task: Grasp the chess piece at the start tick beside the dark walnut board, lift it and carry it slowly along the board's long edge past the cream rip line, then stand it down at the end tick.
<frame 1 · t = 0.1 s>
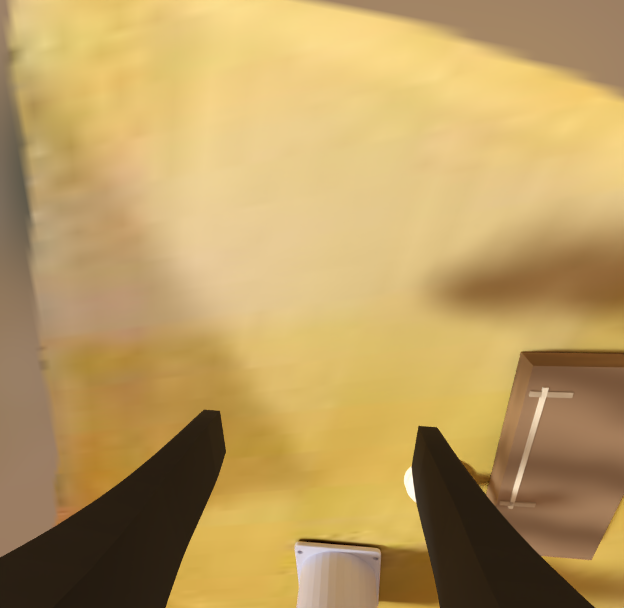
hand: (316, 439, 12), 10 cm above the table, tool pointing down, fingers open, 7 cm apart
walnut board: (553, 458, 24), on the table
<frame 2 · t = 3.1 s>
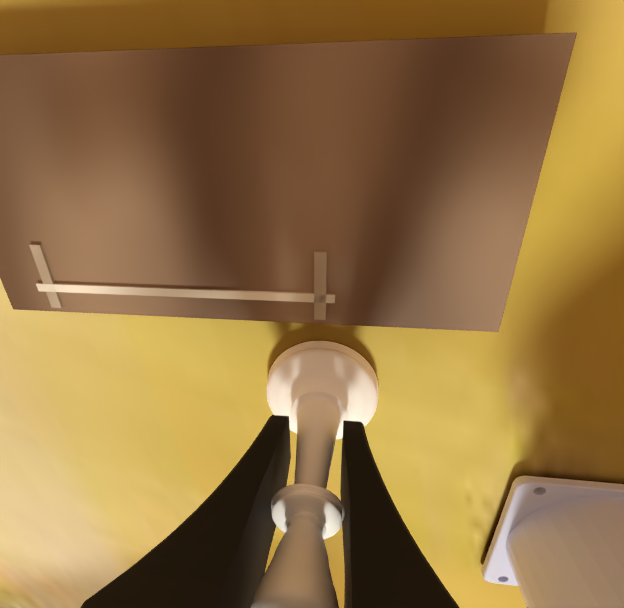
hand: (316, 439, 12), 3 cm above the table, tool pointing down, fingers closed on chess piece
walnut board: (240, 199, 11), on the table
chess piece: (322, 385, 15), on the table, touching gripper
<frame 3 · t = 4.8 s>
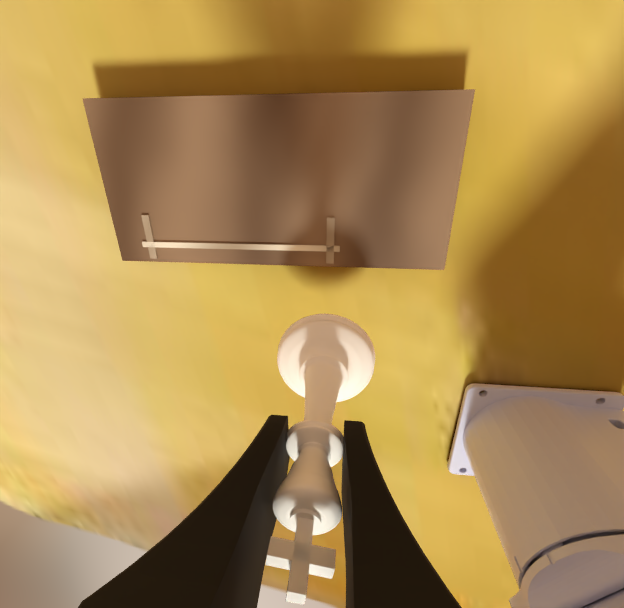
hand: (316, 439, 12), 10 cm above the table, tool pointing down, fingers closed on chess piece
walnut board: (277, 186, 18), on the table
chess piece: (326, 354, 17), point 4 cm above the table, touching gripper
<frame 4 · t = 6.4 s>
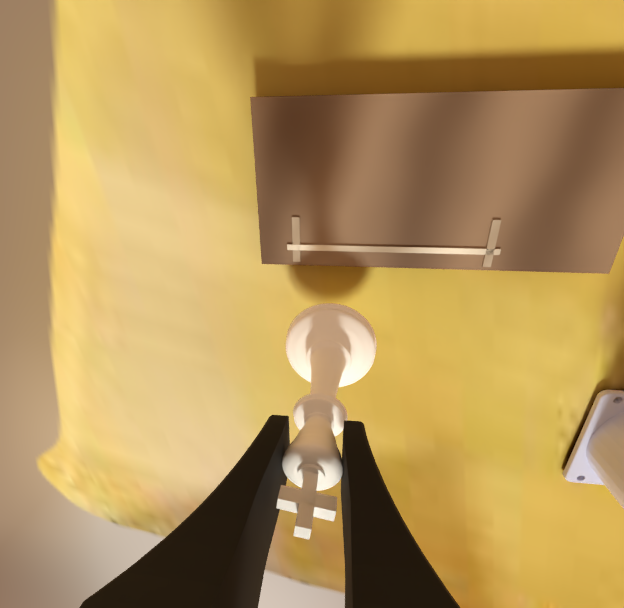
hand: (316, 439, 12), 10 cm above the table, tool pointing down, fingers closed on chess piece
walnut board: (430, 187, 17), on the table
chess piece: (331, 342, 18), point 3 cm above the table, touching gripper
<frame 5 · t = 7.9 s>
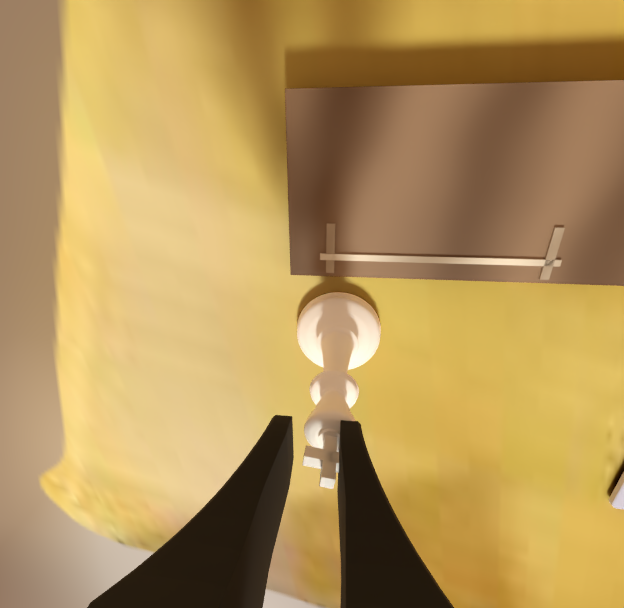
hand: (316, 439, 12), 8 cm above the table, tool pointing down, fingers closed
walnut board: (481, 190, 15), on the table
chess piece: (338, 328, 19), on the table, touching gripper
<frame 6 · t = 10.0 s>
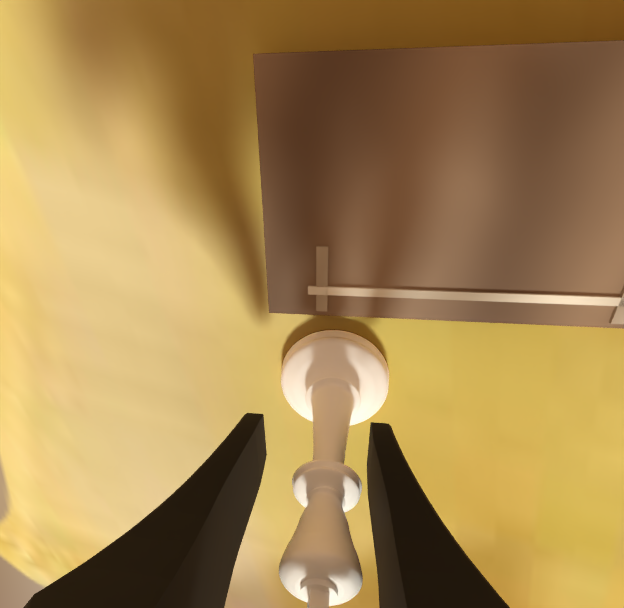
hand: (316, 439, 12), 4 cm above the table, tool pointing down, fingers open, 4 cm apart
walnut board: (529, 200, 11), on the table
chess piece: (334, 373, 15), on the table
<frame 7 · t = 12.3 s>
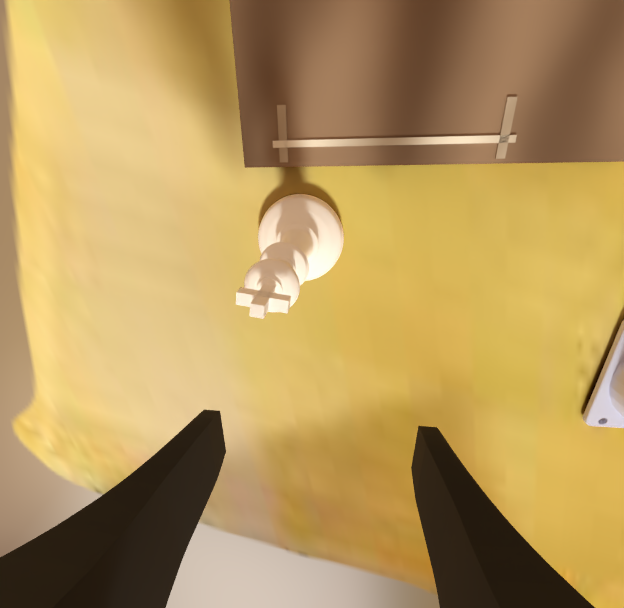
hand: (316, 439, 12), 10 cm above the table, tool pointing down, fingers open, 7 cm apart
walnut board: (435, 69, 15), on the table
chess piece: (301, 237, 19), on the table
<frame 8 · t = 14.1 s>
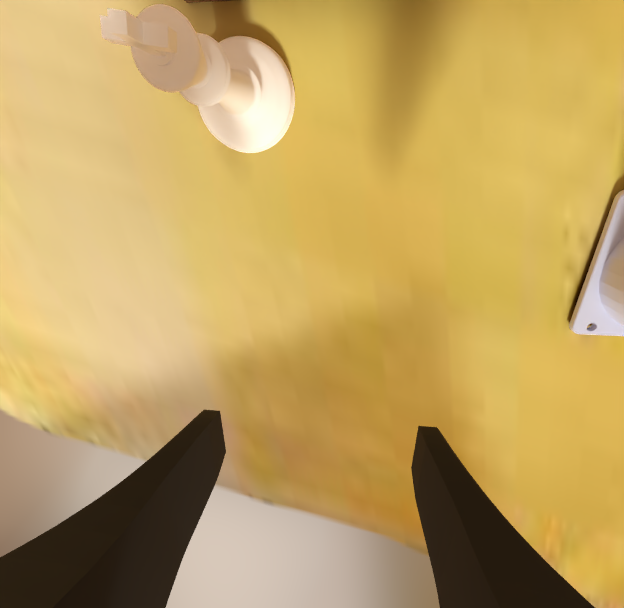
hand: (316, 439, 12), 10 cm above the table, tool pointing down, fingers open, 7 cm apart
chess piece: (248, 99, 17), on the table
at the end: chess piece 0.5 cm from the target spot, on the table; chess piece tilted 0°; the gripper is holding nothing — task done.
